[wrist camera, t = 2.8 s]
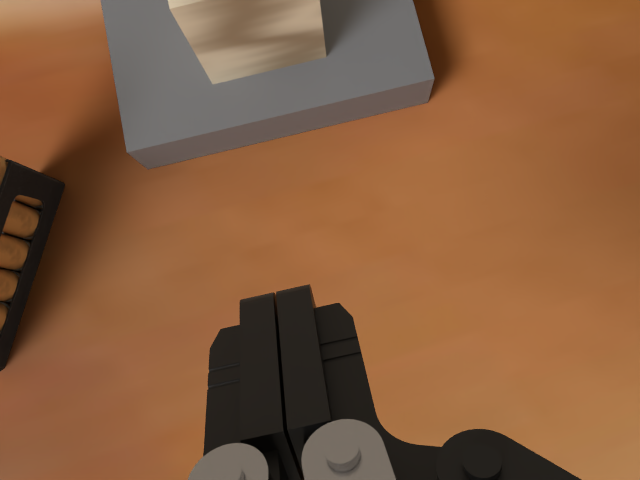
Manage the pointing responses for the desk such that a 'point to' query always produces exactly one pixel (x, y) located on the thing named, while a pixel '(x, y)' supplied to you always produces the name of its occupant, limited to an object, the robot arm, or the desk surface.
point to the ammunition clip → (21, 239)
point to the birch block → (250, 34)
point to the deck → (259, 80)
